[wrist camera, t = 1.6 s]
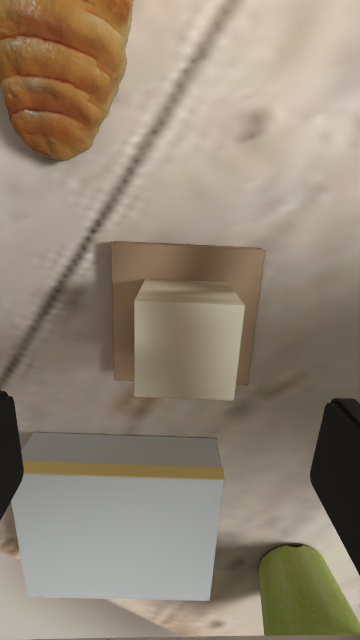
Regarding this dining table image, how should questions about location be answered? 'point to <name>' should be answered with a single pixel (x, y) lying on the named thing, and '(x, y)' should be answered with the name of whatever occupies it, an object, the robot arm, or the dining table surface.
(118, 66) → the pastry
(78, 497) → the dock
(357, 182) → the dining table surface
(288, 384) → the dining table surface
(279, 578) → the plant pot
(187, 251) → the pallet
